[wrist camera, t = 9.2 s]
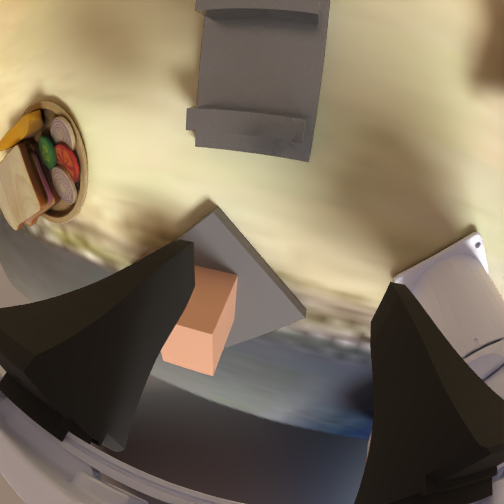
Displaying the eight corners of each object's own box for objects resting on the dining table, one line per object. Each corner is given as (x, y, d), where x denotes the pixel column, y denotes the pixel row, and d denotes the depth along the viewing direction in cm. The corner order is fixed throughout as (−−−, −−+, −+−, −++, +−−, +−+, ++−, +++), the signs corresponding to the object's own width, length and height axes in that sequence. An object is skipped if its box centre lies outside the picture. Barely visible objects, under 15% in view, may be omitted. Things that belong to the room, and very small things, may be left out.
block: (188, 263, 22) (152, 316, 17) (237, 275, 21) (212, 334, 16) (191, 308, 24) (163, 360, 19) (234, 319, 24) (212, 375, 19)
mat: (306, 309, 23) (305, 317, 22) (215, 344, 28) (212, 351, 27) (218, 206, 19) (213, 212, 19) (138, 270, 25) (132, 276, 24)
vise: (216, -24, 10) (194, -43, 8) (331, -19, 10) (333, -42, 7) (201, 143, 17) (177, 156, 14) (309, 158, 16) (307, 173, 13)
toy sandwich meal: (113, 208, 22) (78, 235, 18) (40, 225, 26) (13, 246, 22) (75, 76, 16) (32, 83, 12) (9, 130, 20) (-22, 143, 16)
